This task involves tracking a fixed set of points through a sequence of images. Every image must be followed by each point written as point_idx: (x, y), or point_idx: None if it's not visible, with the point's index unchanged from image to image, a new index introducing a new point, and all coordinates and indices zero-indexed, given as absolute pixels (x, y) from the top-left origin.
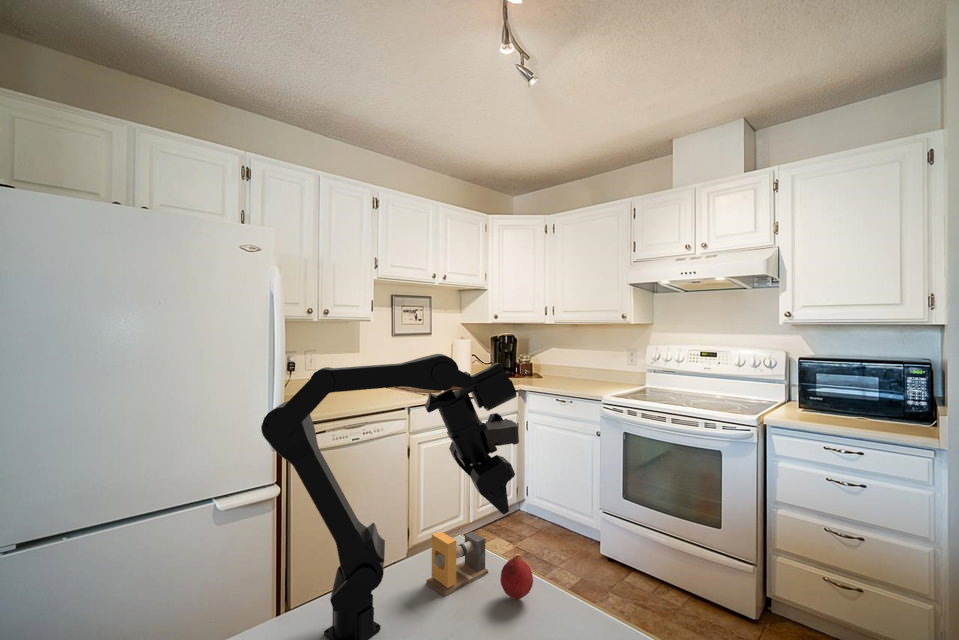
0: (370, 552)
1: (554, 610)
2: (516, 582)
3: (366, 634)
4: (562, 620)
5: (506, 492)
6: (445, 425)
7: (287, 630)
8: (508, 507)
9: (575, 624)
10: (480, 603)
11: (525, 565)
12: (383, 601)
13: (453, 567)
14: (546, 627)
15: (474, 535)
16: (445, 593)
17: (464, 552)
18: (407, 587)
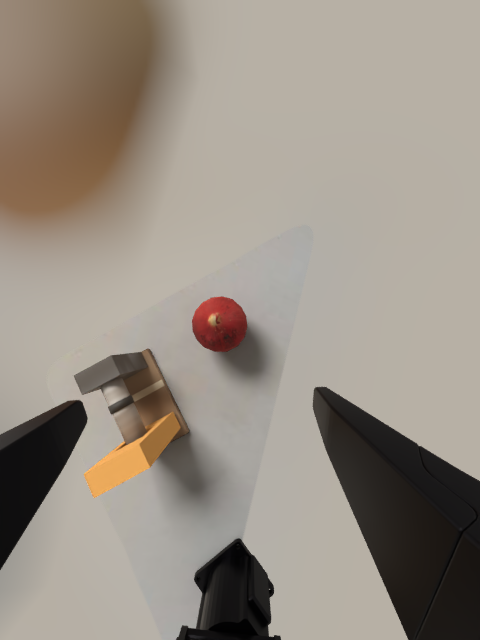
0: None
1: (259, 283)
2: (244, 332)
3: (261, 571)
4: (280, 281)
5: (452, 466)
6: None
7: None
8: (338, 395)
9: (292, 268)
10: (218, 380)
11: (226, 308)
12: (175, 527)
13: (165, 428)
14: (288, 307)
15: (91, 374)
16: (187, 430)
17: (132, 401)
18: (150, 485)
